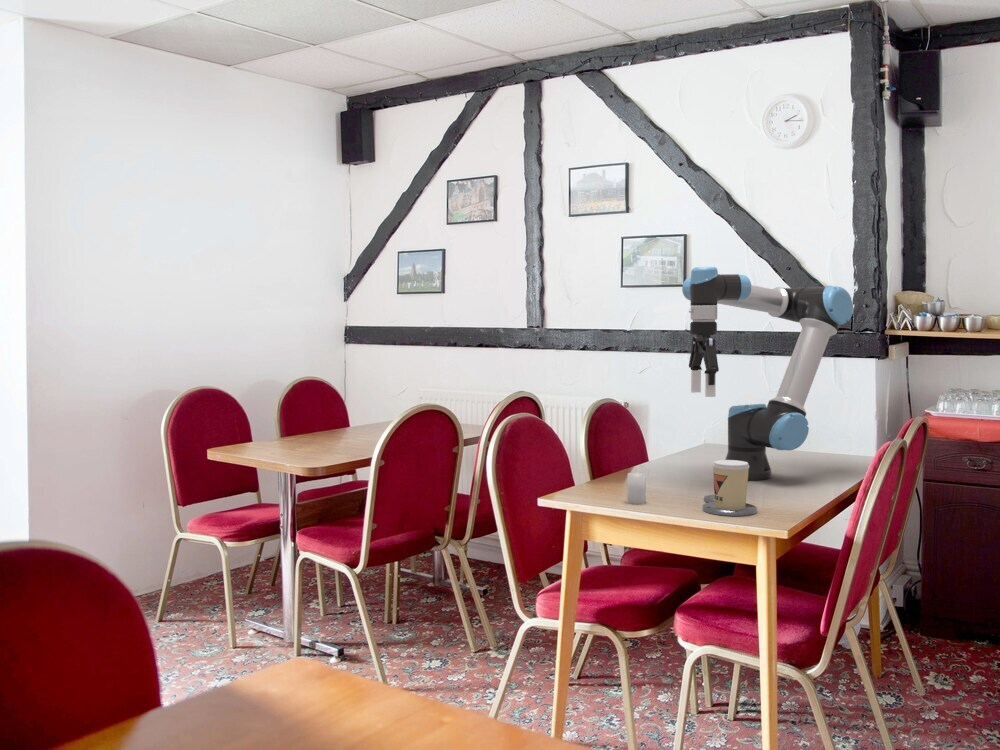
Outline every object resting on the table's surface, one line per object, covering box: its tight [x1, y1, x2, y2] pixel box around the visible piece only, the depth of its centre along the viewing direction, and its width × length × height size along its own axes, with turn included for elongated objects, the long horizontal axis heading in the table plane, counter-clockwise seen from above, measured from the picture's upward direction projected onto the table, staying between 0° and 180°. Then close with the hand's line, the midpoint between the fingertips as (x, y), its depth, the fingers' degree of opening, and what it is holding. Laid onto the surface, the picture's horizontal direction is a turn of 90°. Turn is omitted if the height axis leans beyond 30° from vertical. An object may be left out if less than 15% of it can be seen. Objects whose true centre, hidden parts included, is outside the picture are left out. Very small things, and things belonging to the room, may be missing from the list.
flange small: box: [703, 494, 715, 503], centre depth 257 cm, size 8×8×1 cm
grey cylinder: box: [627, 471, 647, 505], centre depth 256 cm, size 5×5×8 cm
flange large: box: [702, 502, 758, 517], centre depth 245 cm, size 14×14×1 cm
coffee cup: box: [712, 459, 749, 510], centre depth 243 cm, size 9×9×12 cm
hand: (702, 394), depth 267 cm, fingers open, 13 cm apart
